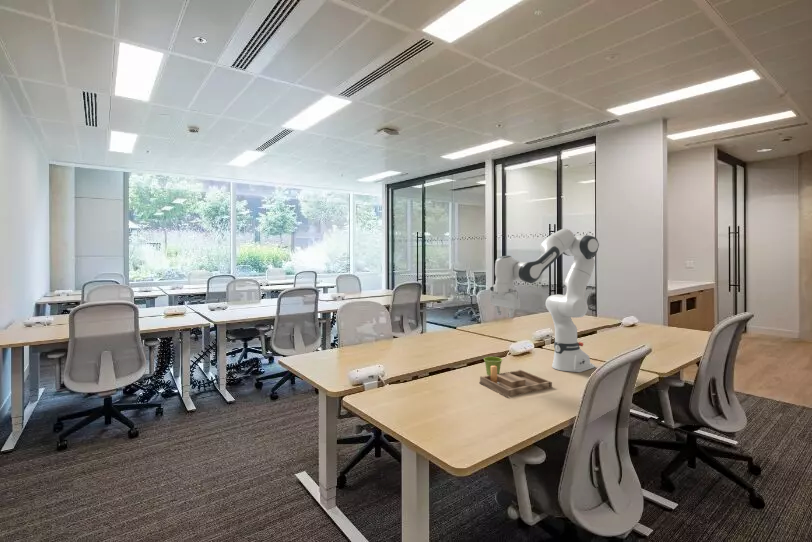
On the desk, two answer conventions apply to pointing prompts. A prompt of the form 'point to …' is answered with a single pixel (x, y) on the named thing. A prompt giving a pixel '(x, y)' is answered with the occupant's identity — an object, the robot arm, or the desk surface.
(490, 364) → the plant pot
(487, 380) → the channel
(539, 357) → the desk surface
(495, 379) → the dowel
